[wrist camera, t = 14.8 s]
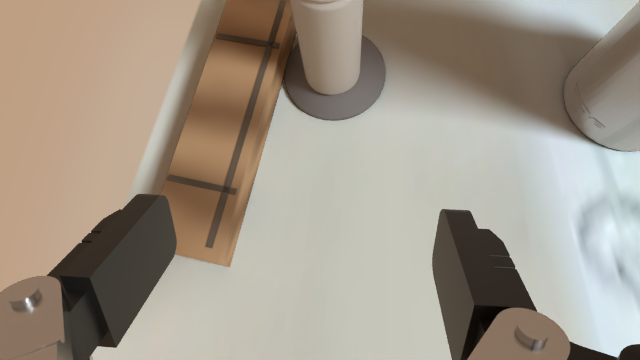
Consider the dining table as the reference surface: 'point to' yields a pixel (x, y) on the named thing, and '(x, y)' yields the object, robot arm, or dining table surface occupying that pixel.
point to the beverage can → (329, 42)
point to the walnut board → (228, 127)
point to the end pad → (341, 103)
